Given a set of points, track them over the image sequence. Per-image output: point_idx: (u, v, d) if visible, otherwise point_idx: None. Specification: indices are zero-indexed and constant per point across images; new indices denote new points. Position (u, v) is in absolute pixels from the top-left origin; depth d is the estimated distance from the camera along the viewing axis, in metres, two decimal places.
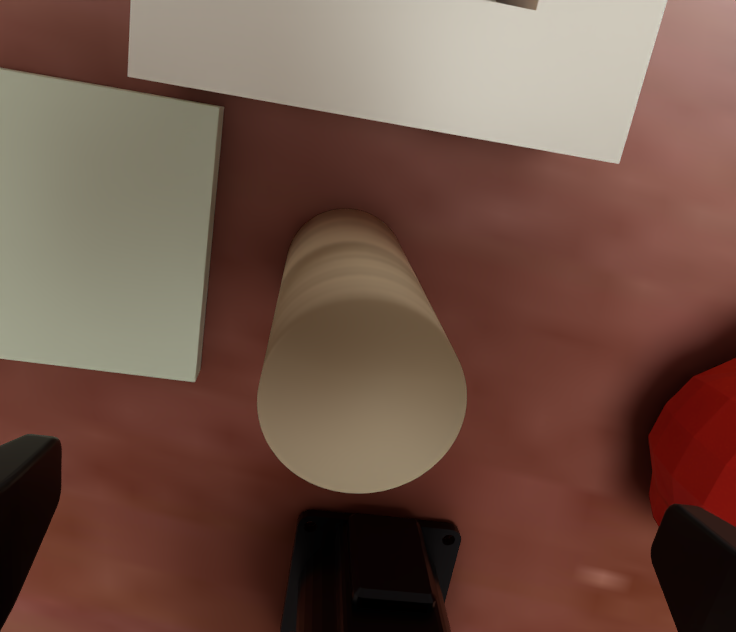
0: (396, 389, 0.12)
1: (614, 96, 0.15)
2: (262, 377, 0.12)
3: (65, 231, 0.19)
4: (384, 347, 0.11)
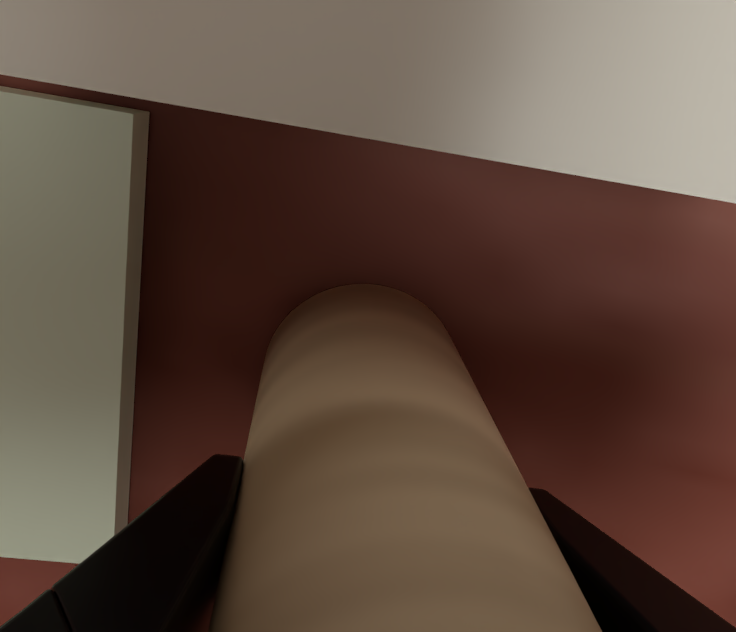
0: None
1: None
2: None
3: None
4: None
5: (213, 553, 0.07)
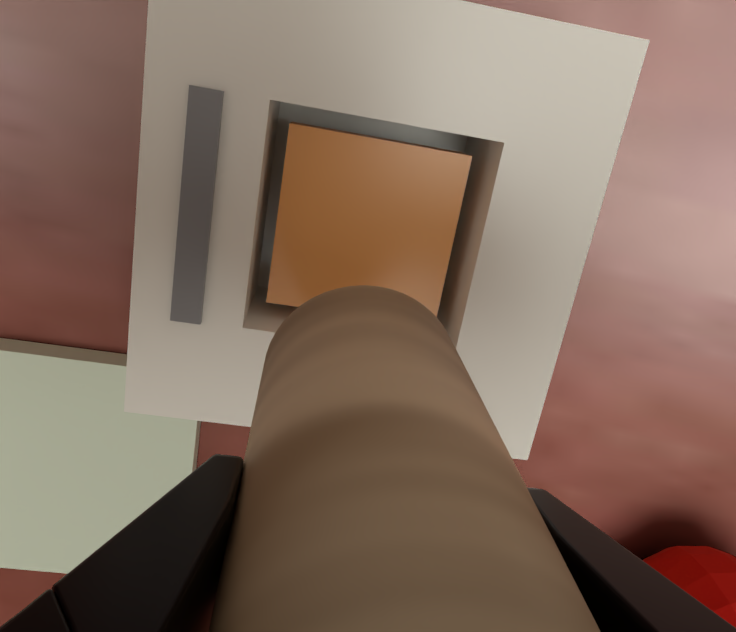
0: None
1: (520, 413, 0.19)
2: None
3: (70, 470, 0.23)
4: None
5: (213, 553, 0.07)
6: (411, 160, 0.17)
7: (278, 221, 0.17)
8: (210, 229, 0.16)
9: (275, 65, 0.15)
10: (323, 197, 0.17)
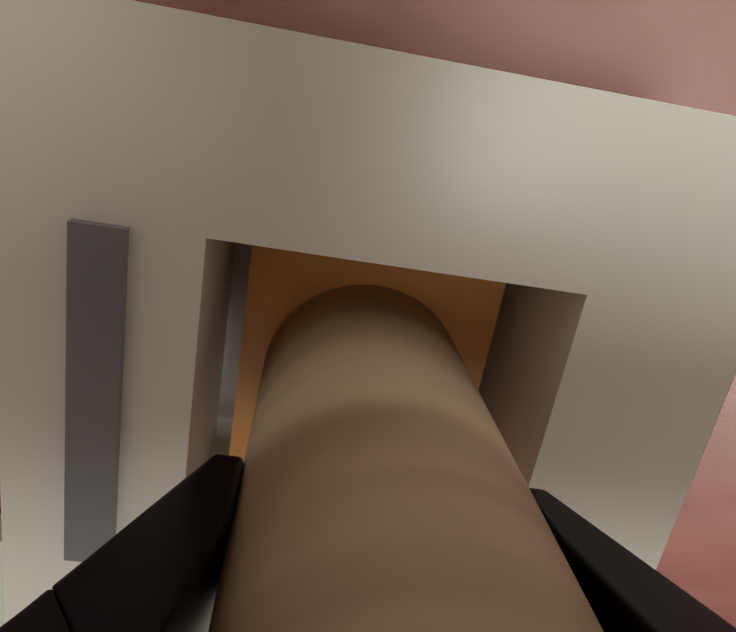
0: None
1: None
2: None
3: None
4: None
5: (213, 553, 0.07)
6: (423, 284, 0.12)
7: (241, 365, 0.13)
8: (118, 432, 0.10)
9: (213, 184, 0.09)
10: None
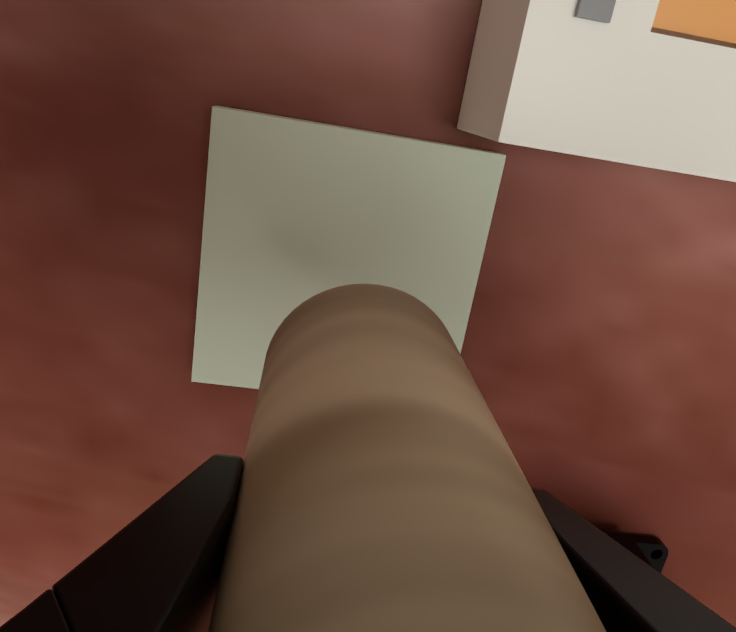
0: None
1: None
2: None
3: (348, 271, 0.20)
4: None
5: (213, 553, 0.07)
6: None
7: None
8: None
9: None
10: None
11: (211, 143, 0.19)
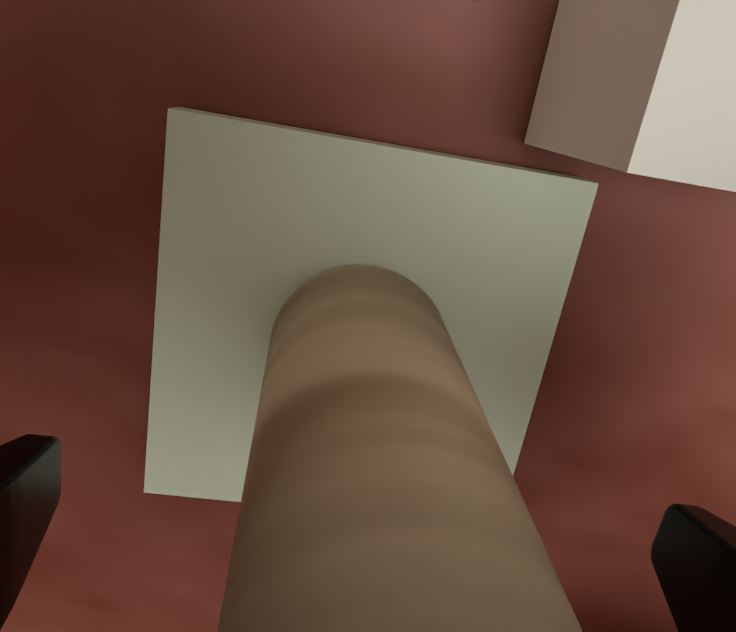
0: None
1: None
2: None
3: None
4: None
5: None
6: None
7: None
8: None
9: None
10: None
11: (167, 163, 0.13)
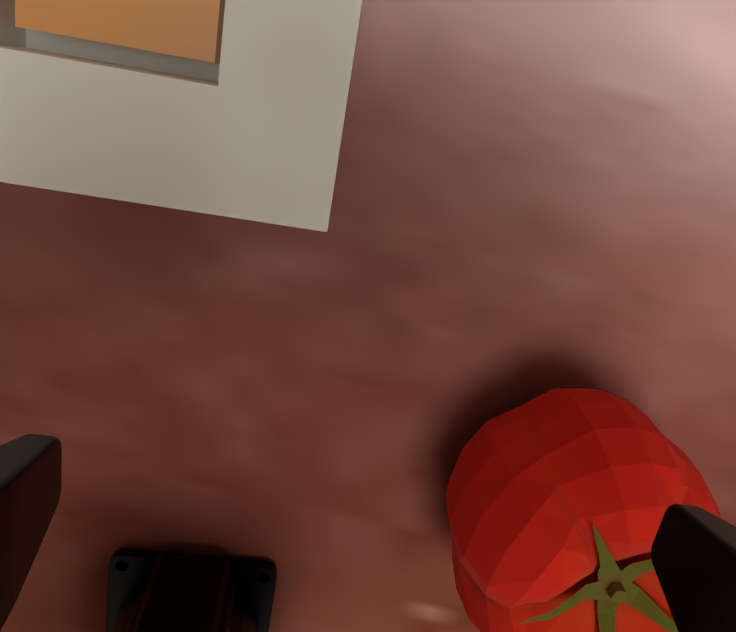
0: None
1: (311, 167, 0.15)
2: None
3: None
4: None
5: None
6: None
7: None
8: None
9: None
10: None
11: None
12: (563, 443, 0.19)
